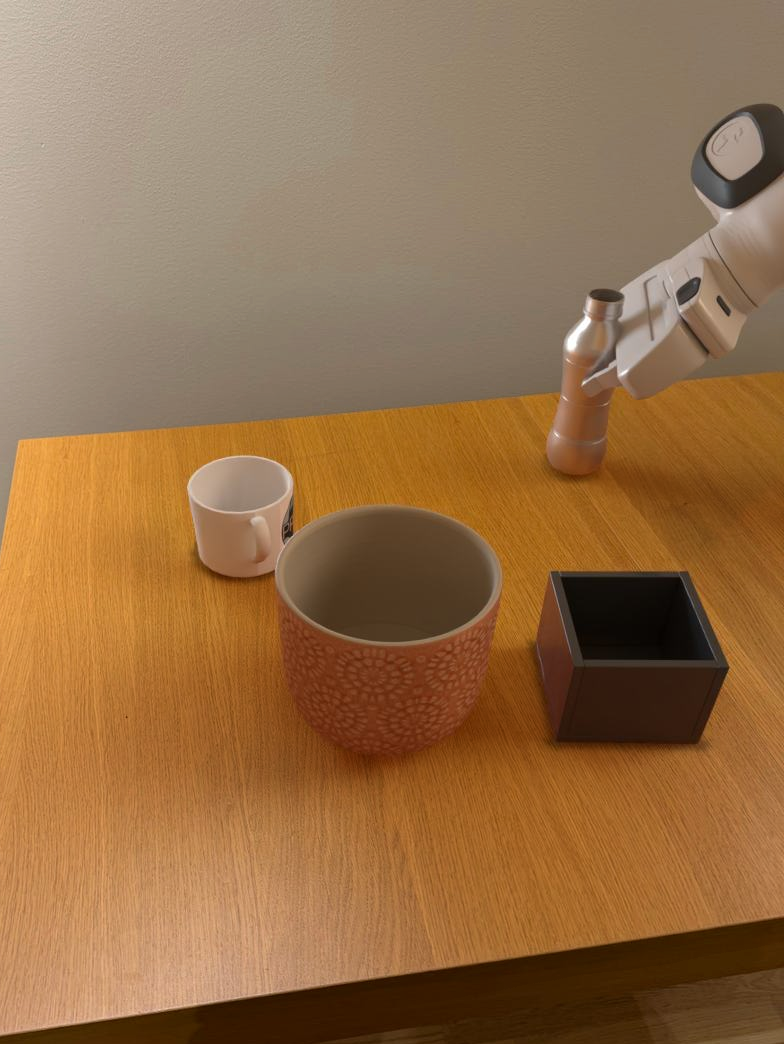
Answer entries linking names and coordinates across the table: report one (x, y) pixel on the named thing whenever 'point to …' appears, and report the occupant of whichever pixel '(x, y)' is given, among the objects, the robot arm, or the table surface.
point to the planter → (386, 625)
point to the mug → (241, 514)
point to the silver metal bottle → (579, 417)
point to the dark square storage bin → (627, 657)
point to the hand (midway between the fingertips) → (584, 374)
